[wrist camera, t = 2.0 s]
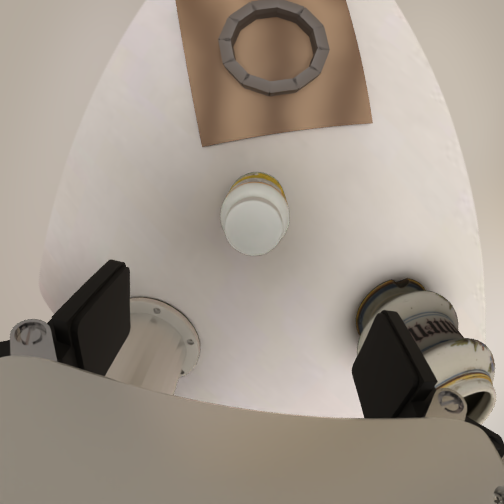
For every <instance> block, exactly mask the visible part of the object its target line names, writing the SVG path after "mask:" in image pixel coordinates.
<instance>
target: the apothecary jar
mask: <svg viewBox="0 0 504 504" xmlns="http://www.w3.org/2000/svg"><path fill="white" fill-rule="evenodd" d="M382 310H388V311H395V312H397V313H398V314H399V315H400V317H401V319H402V320H403V322H404V324H405V325H406V327H407V328H408V330H409V332H410V333H411V335H412V337H413V338H414V340H415V342H416V344H417V345H418V347H419V349H420V350H421V352H422V354H423V356H424V357H425V359H426V361H427V363H428V364H429V366H430V368H431V370H432V372H433V373H434V375H435V377H436V379H437V381H438V382H437V384H436V385H435V388H436V390H438V389H440V388H450V389H452V390H455V391H456V392H458V393H459V394H460V395H461V396H462V397H463V398H464V400H465V401H466V404H467V413H466V416H467V417H469V418H470V419H472V420H474V421H476V422H477V423H479V424H481V425H482V423H483V422H484V421H485V420H486V419H487V417H488V416H489V414H490V413H491V412H492V410H493V408H494V405H495V402H496V392H495V390H494V387H493V385H492V382H493V379H494V373H495V363H494V358H493V355H492V353H491V351H490V350H489V348H488V347H487V346H486V345H485V344H483V343H482V342H480V341H478V340H474V339H469V338H464V337H463V336H462V335H461V334H460V332H459V331H458V319H457V315H456V312H455V310H454V308H453V306H452V305H451V303H450V302H449V301H448V300H447V299H446V298H444V297H443V296H441V295H439V294H437V293H434V292H431V291H426V290H425V288H424V287H423V286H422V285H421V284H420V283H419V282H417V281H415V280H412V279H408V278H407V279H405V280H402V281H400V282H395V281H394V280H389V281H387V282H384V283H382V284H381V285H379V286H377V287H376V288H374V289H373V290H372V291H371V292H370V293H369V294H368V295H367V296H366V298H365V299H364V300H363V302H362V303H361V305H360V307H359V309H358V313H357V317H356V326H357V330H358V333H359V335H360V338H359V342H358V347H357V356H358V354H359V352H360V350H361V347H362V345H363V343H364V341H365V339H366V337H367V335H368V332H369V330H370V328H371V326H372V323H373V321H374V319H375V316H376V315H377V314H378V313H381V311H382Z"/></svg>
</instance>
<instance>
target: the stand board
mask: <svg viewBox="0 0 504 504" xmlns="http://www.w3.org/2000/svg"><path fill="white" fill-rule="evenodd" d="M176 6H177V12H178V18H179V24H180V30H181V36H182V42H183V47H184V53H185V59H186V64H187V70H188V75H189V81H190V86H191V92H192V97H193V102H194V108H195V113H196V118H197V123H198V128H199V133H200V138H201V143H202V147H205V146H209V145H214V144H219V143H224V142H229V141H234V140H240V139H245V138H251V137H257V136H263V135H269V134H276V133H282V132H290V131H297V130H305V129H313V128H322V127H331V126H341V125H353V124H366V123H373V122H372V115H371V109H370V103H369V97H368V91H367V86H366V81H365V76H364V71H363V66H362V61H361V57H360V52H359V48H358V44H357V40H356V36H355V32H354V28H353V24H352V20H351V17H350V13H349V10H348V6H347V3H346V0H176Z"/></svg>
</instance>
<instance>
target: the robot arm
mask: <svg viewBox="0 0 504 504" xmlns="http://www.w3.org/2000/svg"><path fill="white" fill-rule="evenodd" d="M199 353H200V342H199V339H198V335H197V333H196V331H195V329H194V327H193V326H192V325H191V323H190V322H189V321H188V320H187V319H186V318H185V317H184V316H183V315H182V314H181V313H180V312H178V311H177V310H176V309H174V308H173V307H171V306H169V305H167V304H165V303H163V302H160V301H157V300H154V299H149V298H131V299H130V270H129V268H128V267H126V265H125V263H124V262H120V261H115V260H109V261H108V262H107V263H106V264H105V265H103V266H102V267H101V268H100V269H99V270H98V271H97V272H96V273H95V274H94V275H93V276H92V277H91V278H90V279H89V280H88V281H87V282H86V283H85V284H84V285H83V286H82V287H81V288H80V289H79V290H78V291H77V292H76V293H75V294H74V295H73V296H72V297H71V298H70V299H69V300H68V301H67V302H66V303H65V304H64V305H63V306H62V307H61V308H60V309H59V310H58V311H57V312H56V313H55V314H54V315H53V316H52V319H51V320H50V321H49V322H48V323H46V322H44V321H42V320H37V319H28V320H24V321H22V322H20V323H18V324H17V325H15V326H14V327H13V329H12V330H11V333H10V340H8V341H3V342H0V504H504V443H503V441H502V438H501V437H500V436H499V435H498V434H496V433H494V432H492V431H491V430H489V429H487V428H486V427H484V426H482V425H481V424H479V423H477V422H476V421H474V420H472V419H470V418H469V417H467V416H466V413H467V404H466V401H465V400H464V398H463V397H462V396H461V395H460V394H459V393H458V392H456V391H455V390H452V389H450V388H440V389H438V390H436V388H435V385H436V384H437V382H438V381H437V379H436V377H435V375H434V373H433V372H432V370H431V368H430V366H429V364H428V363H427V361H426V359H425V357H424V356H423V354H422V352H421V350H420V349H419V347H418V345H417V344H416V342H415V340H414V338H413V337H412V335H411V333H410V332H409V330H408V328H407V327H406V325H405V324H404V322H403V320H402V319H401V317H400V315H399V314H398V313H397V312H395V311H388V310H382V311H381V313H378V314H377V315H376V316H375V319H374V321H373V323H372V326H371V328H370V330H369V332H368V335H367V337H366V339H365V341H364V343H363V345H362V347H361V350H360V352H359V354H358V356H357V358H356V360H355V362H354V364H353V367H352V375H353V379H354V382H355V386H356V389H357V393H358V396H359V400H360V403H361V407H362V411H363V414H364V418H333V417H316V416H303V415H292V414H282V413H273V412H265V411H257V410H250V409H243V408H236V407H230V406H224V405H219V404H213V403H208V402H203V401H198V400H193V399H188V398H183V397H179V396H174V392H175V389H176V385H177V382H178V379H179V378H180V377H183V376H185V375H186V374H188V373H189V372H190V371H192V370H193V368H194V367H195V365H196V363H197V361H198V358H199Z"/></svg>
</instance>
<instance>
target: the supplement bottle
mask: <svg viewBox="0 0 504 504" xmlns="http://www.w3.org/2000/svg"><path fill="white" fill-rule="evenodd" d="M220 219H221V225H222V228H223V230H224V232H225V235H226V238H227V240H228V242H229V243H230V245H231V246H232V247H233V248H234V249H235V250H237V251H238V252H240V253H242V254H245V255H249V256H259V255H263V254H266V253H268V252H270V251H271V250H272V249H274V248H275V247H276V246H277V244H278V243H279V241H280V240H281V239H282V237H283V236H284V235H285V233H286V231H287V229H288V226H289V220H290V214H289V208H288V204H287V201H286V198H285V195H284V192H283V189H282V187H281V185H280V184H279V182H278V181H277V180H276V179H275V178H274V177H272V176H270V175H268V174H265V173H261V172H252V173H248V174H246V175H244V176H242V177H240V178H239V179H238V180H237V181H236V182H235V183H234V185H233V186H232V188H231V190H230V191H229V193H228V195H227V196H226V198H225V200H224V202H223V204H222V207H221V213H220Z"/></svg>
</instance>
